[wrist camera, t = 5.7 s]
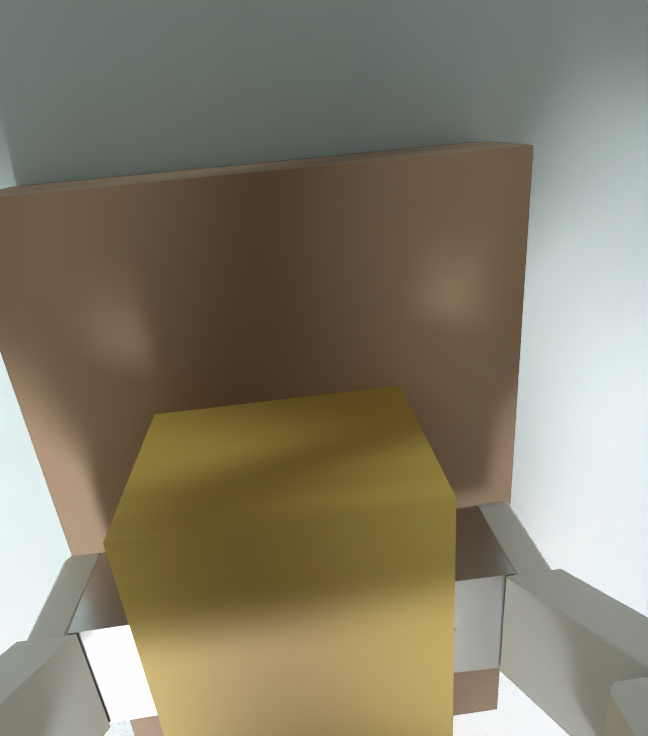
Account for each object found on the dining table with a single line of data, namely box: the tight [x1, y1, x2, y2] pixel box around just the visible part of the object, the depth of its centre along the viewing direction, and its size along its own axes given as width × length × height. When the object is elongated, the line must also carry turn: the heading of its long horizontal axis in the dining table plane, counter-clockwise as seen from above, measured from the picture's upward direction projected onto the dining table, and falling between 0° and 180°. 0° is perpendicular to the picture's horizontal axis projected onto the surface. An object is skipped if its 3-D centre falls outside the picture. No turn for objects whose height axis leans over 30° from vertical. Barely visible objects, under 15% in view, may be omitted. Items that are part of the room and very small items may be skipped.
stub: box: [0, 141, 533, 736], centre depth 10 cm, size 8×12×5 cm, turn 5°
